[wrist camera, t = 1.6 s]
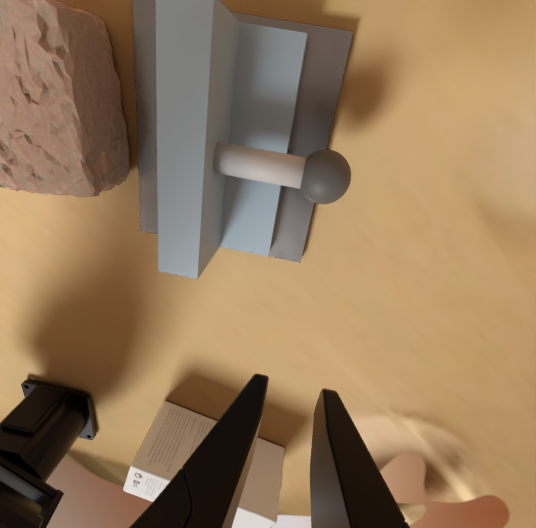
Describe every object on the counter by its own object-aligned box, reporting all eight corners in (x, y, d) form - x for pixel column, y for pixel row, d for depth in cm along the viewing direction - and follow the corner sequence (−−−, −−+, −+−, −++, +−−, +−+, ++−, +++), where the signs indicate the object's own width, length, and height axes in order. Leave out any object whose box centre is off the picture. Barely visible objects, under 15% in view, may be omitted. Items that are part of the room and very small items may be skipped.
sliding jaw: (321, 259, 20) (322, 305, 15) (193, 234, 20) (158, 270, 16) (376, 48, 15) (403, 24, 10) (203, 20, 15) (155, -16, 10)
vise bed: (300, 258, 20) (300, 262, 20) (145, 227, 21) (140, 230, 20) (352, 34, 15) (353, 31, 14) (138, -1, 15) (132, -5, 15)
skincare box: (120, 491, 25) (258, 545, 26) (129, 465, 23) (278, 523, 24) (155, 423, 31) (269, 469, 31) (165, 397, 29) (286, 446, 29)
